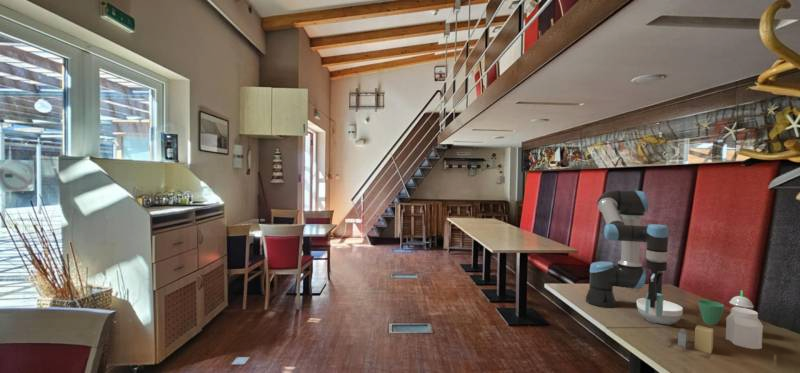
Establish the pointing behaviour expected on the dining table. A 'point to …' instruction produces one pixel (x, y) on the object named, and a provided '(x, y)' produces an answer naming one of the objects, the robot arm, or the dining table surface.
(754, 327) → the jar
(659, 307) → the teal rectangular block
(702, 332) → the pale yellow block
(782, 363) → the dining table surface
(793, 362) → the dining table surface
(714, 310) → the mug
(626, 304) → the dining table surface
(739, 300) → the smoothie
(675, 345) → the board
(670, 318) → the bowl
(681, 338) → the post
